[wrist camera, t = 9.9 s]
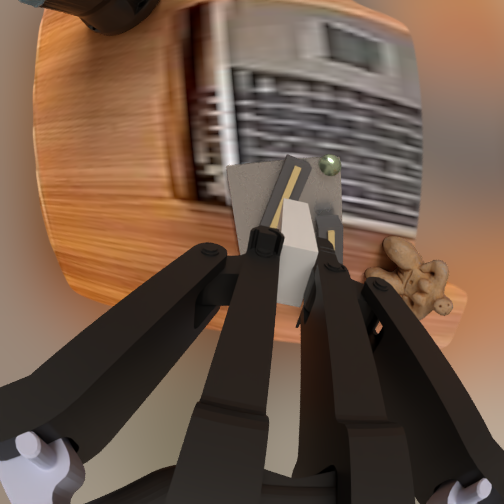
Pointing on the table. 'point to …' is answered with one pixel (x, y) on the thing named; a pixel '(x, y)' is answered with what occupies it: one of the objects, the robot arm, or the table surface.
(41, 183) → the table surface
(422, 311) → the figurine
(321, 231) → the curved tan-striped slab
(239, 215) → the level plate
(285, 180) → the striped dark bar
